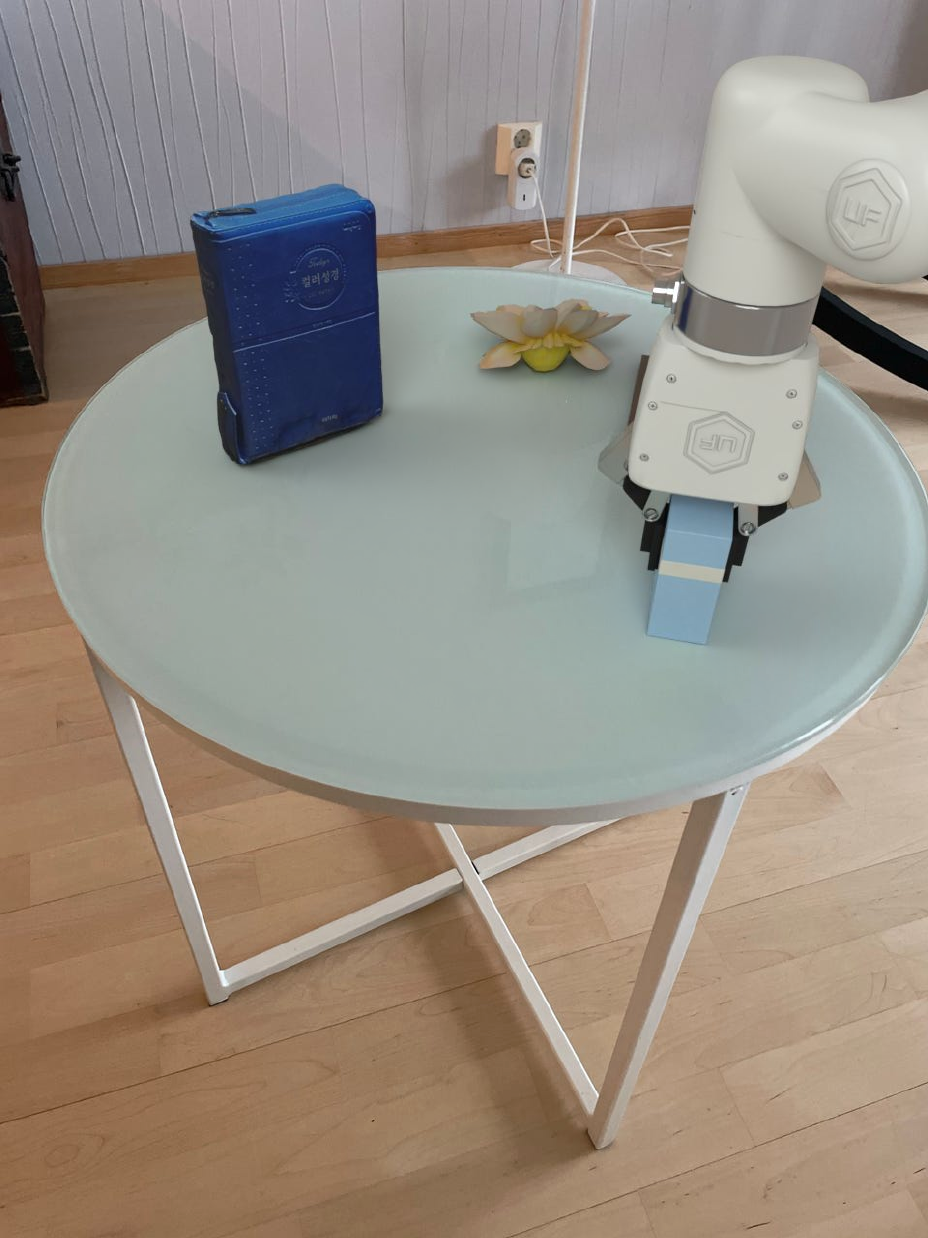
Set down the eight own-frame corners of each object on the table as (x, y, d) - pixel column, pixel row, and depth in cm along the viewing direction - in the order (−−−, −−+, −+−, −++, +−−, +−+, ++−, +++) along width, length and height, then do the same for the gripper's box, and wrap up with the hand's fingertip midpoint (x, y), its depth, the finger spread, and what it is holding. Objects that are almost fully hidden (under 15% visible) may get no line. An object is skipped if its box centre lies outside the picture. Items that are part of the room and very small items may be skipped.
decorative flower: (618, 312, 101) (626, 224, 93) (632, 390, 95) (642, 303, 86) (470, 321, 101) (465, 234, 93) (474, 398, 95) (469, 313, 87)
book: (241, 478, 81) (203, 230, 68) (212, 448, 84) (170, 206, 71) (390, 426, 87) (382, 190, 74) (358, 400, 91) (345, 170, 77)
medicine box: (710, 572, 73) (735, 468, 67) (706, 645, 67) (732, 539, 61) (655, 563, 74) (675, 460, 68) (646, 635, 68) (666, 529, 62)
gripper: (587, 321, 55) (558, 579, 67) (906, 359, 52) (815, 619, 64) (603, 267, 60) (574, 514, 72) (892, 299, 57) (812, 550, 70)
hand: (688, 561), depth 68 cm, fingers closed on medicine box, 4 cm apart
